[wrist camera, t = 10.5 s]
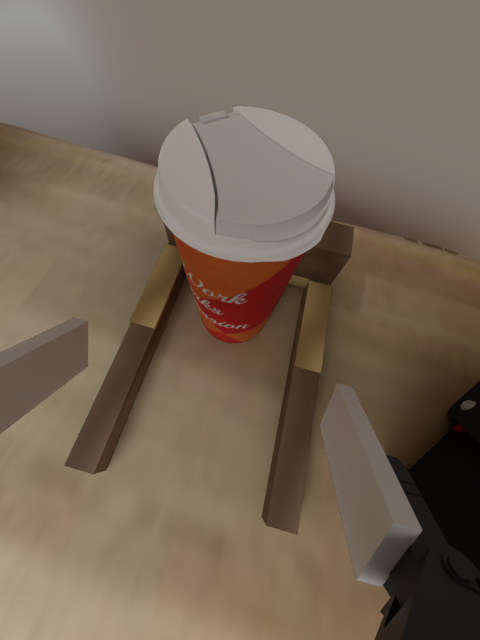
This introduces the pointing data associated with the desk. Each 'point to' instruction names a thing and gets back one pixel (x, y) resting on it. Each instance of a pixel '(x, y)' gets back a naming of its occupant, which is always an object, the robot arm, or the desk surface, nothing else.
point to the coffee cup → (243, 210)
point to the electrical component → (454, 480)
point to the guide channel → (300, 386)
